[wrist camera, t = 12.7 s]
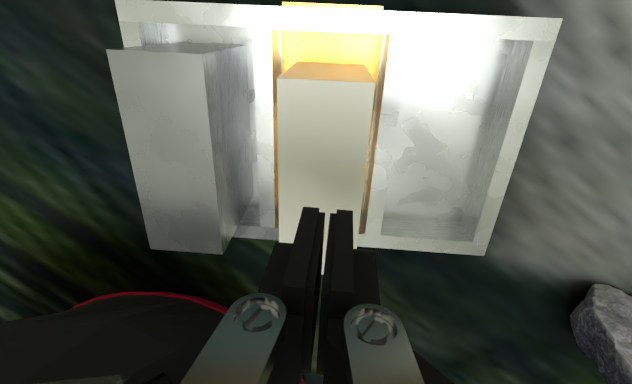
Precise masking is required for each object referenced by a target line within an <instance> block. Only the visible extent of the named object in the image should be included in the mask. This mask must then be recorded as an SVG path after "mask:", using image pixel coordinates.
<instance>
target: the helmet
mask: <svg viewBox="0 0 632 384" xmlns="http://www.w3.org/2000/svg"><path fill="white" fill-rule="evenodd" d="M228 310H229V308H227V307H225V306H222V305H219V304H217V303H214V302H212V301H209V300H206V299H204V298H201V297H196V296H190V295H183V294H177V293H170V292H121V293H116V294H110V295H105V296H100V297H95V298H93V299H91V300H88V301H86V302H84V303H81V304H79V305H76V306H74V307H72V308H71V309H69V310H66V311H63V312H58V313H52V314H47V315H41V316H36V317H30V318H24V319H19V320H13V321H8V322H2V323H0V384H34V383H44V382H54V381H63V380H73V379H83V378H92V377H102V376H112V375H120V376H121V380H122V379H128V378H129V377H130V376H131V375H133V374H134V373H136V372H137V371H139V370H140V369H142V368H144V367H146V366H148V365H150V364H152V363H153V362H155V361H157V360H159V359H161V358H163V357H165V356H167V355H169V354H171V353H173V352H175V351H177V350H179V349H180V348H182V347H184V346H186V345H188V344H190V343H192V342H194V341H196V340H198V339H200V338H202V337H204V336H206V335H207V334H209V333H211V332H213V331H215V329H216V328H217V326H218V325H219V323H220V322H221V320H222V319H223V317H224V316H225V314H226V313H227V311H228ZM301 384H304V379H303V378H302V383H301Z"/></svg>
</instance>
